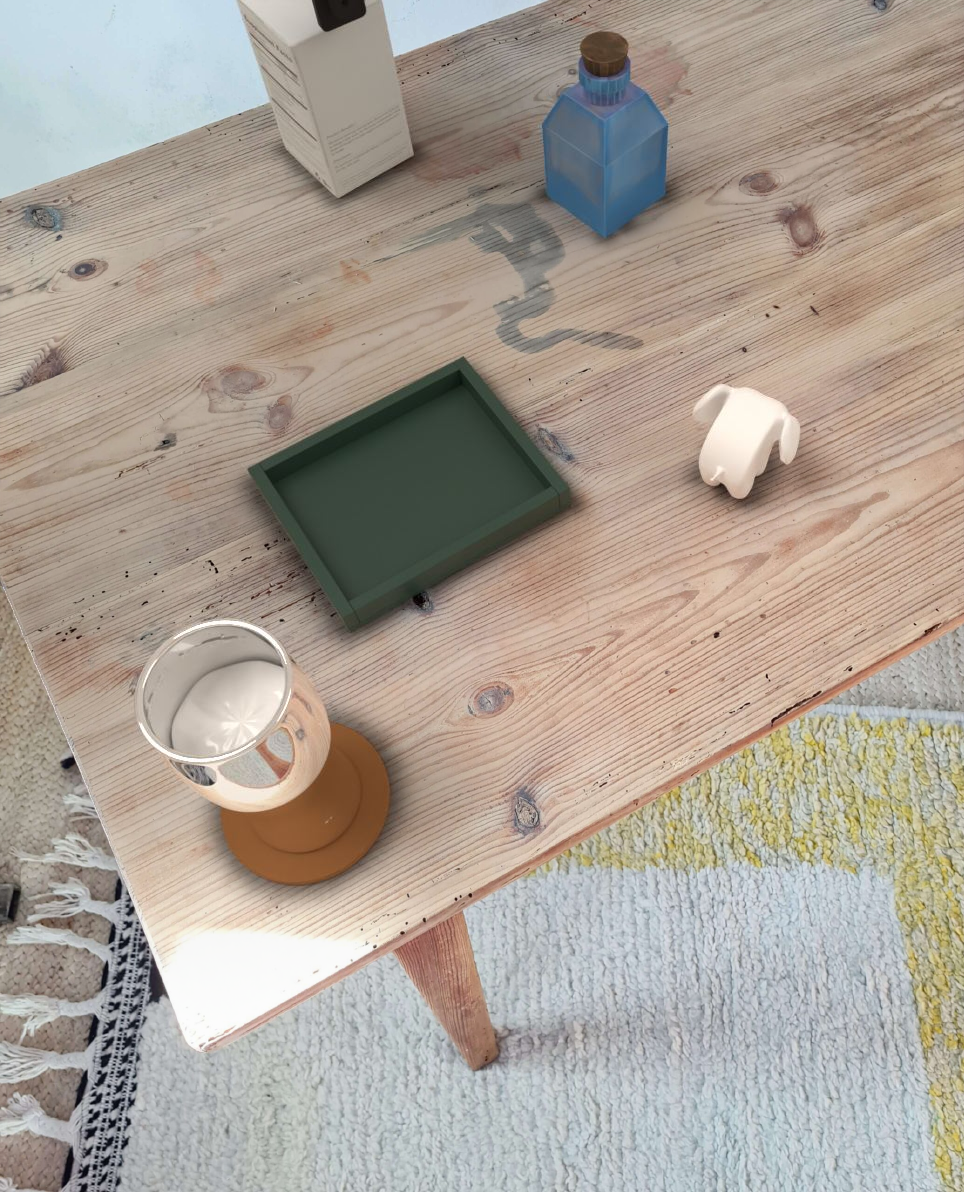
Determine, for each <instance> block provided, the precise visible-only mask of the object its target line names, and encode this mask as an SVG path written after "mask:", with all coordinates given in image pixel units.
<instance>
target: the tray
mask: <svg viewBox="0 0 964 1192" xmlns="http://www.w3.org/2000/svg"><path fill="white" fill-rule="evenodd" d="M246 471H247V472H248V474H249V476H250V478H251V479H252V481H253V484H254V485H255V487H256V489H257V490H258V492H259V494H260V495H261V496H262V499H263V500H264V501H265V503H266V504H267V506H268V507H269V509H270V510H271V512H272V514H273V515H274V517H275V519H276V520H277V522H278V523H279V525H280V526H281V528H282V530H283V532H284V533H285V534H286V536H287V538H288V539H289V541H290V542H291V544H292V545H293V547H294V548H295V550H296V551H297V553H298V555H299V556H300V558H301V560H302V561H303V562H304V564H305V566H306V568H307V569H308V571H309V572H310V573H311V575H312V577H313V578H314V580H315V581H316V583H317V584H318V586H319V588H320V589H321V591H322V593H323V595H324V596H325V597H326V599H327V600H328V602H329V603H330V605H331V607H332V608H333V610H334V612H335V613H336V614H337V616H338V618H339V619H340V621H341V622H342V624H343V625H344V627H345V629H346V630H347V632H348V633H349V634H351V633H353V632H355V631H356V630H359V629H360V628H362V627H363V626H365V625H367V624H368V623H370V622H372V621H374V620H375V619H377V618H379V617H381V616H383V615H385V614H386V613H388V612H389V611H391V610H393V609H395V608H396V607H398V606H400V605H401V604H403V603H405V602H407V601H408V600H410V599H412V598H414V597H415V596H417V595H419V594H421V593H422V592H424V591H426V590H428V589H429V588H431V587H433V586H435V585H436V584H438V583H439V582H442V581H443V580H445V579H446V578H448V577H450V576H452V575H453V574H455V573H457V572H459V571H461V570H462V569H464V568H466V567H467V566H469V565H471V564H473V563H474V562H476V561H478V560H480V559H481V558H483V557H485V556H486V555H488V554H490V553H492V552H494V551H495V550H497V549H499V548H500V547H502V546H503V545H506V544H507V543H509V542H511V541H512V540H514V539H516V538H517V537H519V536H522V535H523V534H525V533H526V532H528V531H530V530H532V529H533V528H535V527H537V526H539V525H540V524H542V523H544V522H545V521H548V520H549V519H551V518H552V517H554V516H556V515H557V514H559V513H561V512H563V511H565V510H566V509H568V508H570V507H571V505H572V504H571V503H572V501H571V488H570V487H569V485H568V484H567V483H566V481H565V480H564V479H563V478H562V476H561V475H560V474H559V473H558V472H557V471H556V469H555V468H554V467H553V465H552V464H551V463H550V461H548V459H547V457H545V455H544V454H543V453H542V452H541V450H539V448H538V447H537V446H536V444H535V443H534V442H533V440H532V439H531V438H530V436H528V434H527V433H526V432H525V430H524V429H523V428H522V427H521V425H520V424H519V423H518V421H516V419H515V418H514V417H513V415H512V414H511V413H510V411H508V409H507V408H506V407H505V406H504V404H503V403H502V401H500V399H499V398H498V397H497V396H496V394H495V393H494V392H493V391H492V389H491V388H490V387H489V385H488V384H487V382H485V381H484V380H483V378H482V377H481V376H480V374H479V373H478V372H477V370H475V368H474V367H473V366H472V365H471V363H470V362H469V361H468V359H467V358H466V357H465V356H464V355H463V356H461V357H459V358H457V359H455V360H454V361H450V363H447V364H445V365H444V366H441V367H440V368H437V369H436V370H434V371H432V372H430V373H428V374H426V375H424V376H423V377H421V378H419V379H417V380H415V381H413V382H411V383H409V384H407V385H405V386H403V387H401V388H399V389H397V390H395V391H394V392H392V393H390V394H387V395H386V396H384V397H382V398H380V399H378V400H376V401H374V402H372V403H370V404H368V405H366V406H365V407H363V408H360V409H359V410H356V411H354V412H353V413H351V414H349V415H347V416H345V417H344V418H341V419H340V420H338V421H336V422H334V423H332V424H329V425H327V426H326V427H324V428H322V429H320V430H318V431H316V432H314V433H313V434H311V435H309V436H306V437H305V438H303V439H301V440H299V441H297V442H295V443H294V444H291V445H289V446H288V447H285V448H284V449H282V450H280V451H278V452H276V453H274V454H272V455H270V456H269V457H266V458H264V459H263V460H261V461H258V462H257V463H255V464H253V465H251V466H249V467H247V468H246Z"/></svg>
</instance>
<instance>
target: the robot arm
mask: <svg viewBox="0 0 964 1192" xmlns="http://www.w3.org/2000/svg"><path fill="white" fill-rule="evenodd" d="M312 3H313V7H314V11H315V14H316V18H317V22H318V25H319V26H320V27H321V29H322V30H323V31H325V32H329V31H331V30H334V29H336V28H338V27H341V26H343V25H345V24H348V23H350V22H352V21H355V20H357V19H359V18H362V17H363V16H364V15H365V14H366V6H365V1H364V0H312Z"/></svg>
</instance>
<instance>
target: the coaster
mask: <svg viewBox="0 0 964 1192" xmlns="http://www.w3.org/2000/svg"><path fill="white" fill-rule="evenodd" d="M329 724H330V730H331V735H332V742H333V746H334V747H336V748H337V749H339V750H340V751H341V752H342V753H344V754H345V755H346V756H347V757H348V758H349V760H350V761H351V762H352V763H353V765H354V767H355V768H356V770H357V773H358V775H359V779H360V784H361V798H360V803H359V807H358V810H357V813H356V815H355V817H354V819H353V821H352V822H351V824H350V825H349V827H348V828H347V829H346V830H345V832H344V833H343V834H342V835H341V836H339V837H338V838H337V839H336V840H334V841H333V842H331V843H330V844H328V845H326V846H324V847H322V848H320V849H317V850H314V851H310V852H304V853H291V852H285V851H281V850H278V849H275V848H273V847H271V846H269V845H268V844H266V843H265V842H264V841H263V840H261V839H260V837H259V836H258V835H257V834H256V832H255V831H254V830H253V828H252V826H251V824H250V822H249V819H248V817H247V816H246V815H243V814H240V813H237V812H234V811H231V810H229V809H226V808H223V807H221V806H220V822H221V824H220V825H221V829H222V833H223V836H224V839H225V842H226V843H227V846H228V847H229V849H230V851H231V852H232V854H233V855H234V857H235V858H236V859H237V860H238V861H239V862H240V863H241V864H242V865H243V866H244V867H246V869H247V870H249V871H250V872H252V873H253V874H255V875H256V876H258V877H259V878H262V879H263V880H266V881H268V882H272V883H276V884H279V885H286V886H306V885H312V884H317V883H321V882H324V881H327V880H329V879H332V878H335V877H336V876H338V875H340V874H343V873H344V872H346V871H347V870H349V869H350V868H351V867H352V866H354V865H355V864H357V863H358V862H359V861H360V860H361V859H362V858H363V857H364V856H365V855H366V853H368V852H369V851H370V849H371V848H372V847H373V845H374V844H375V842H376V841H377V840H378V838H379V837H380V834H381V832H382V831H383V828H384V826H385V823H386V820H387V818H388V813H389V808H390V803H391V802H390V801H391V784H390V779H389V776H388V771H387V768H386V766H385V763H384V761H383V760H382V758H381V756H380V755H379V753H378V751H377V750H376V749H375V747H374V746H373V745H372V744H371V743H370V742H369V740H367V738H365V737H364V736H363V735H362V734H360V733H359V732H357V731H356V730H353V728H350V727H348V726H345V725H343V724H341V723H335V722H333V721H329Z"/></svg>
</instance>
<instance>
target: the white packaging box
mask: <svg viewBox="0 0 964 1192" xmlns="http://www.w3.org/2000/svg"><path fill="white" fill-rule="evenodd" d="M364 1H365V6H366V14H365V15H364V16H363V17H362V18H359V19H357V20H355V21H352V22H350V23H348V24H345V25H343V26H341V27H338V28H336V29H334V30H331V31H329V32H325V31H323V30H322V29H321V27H320V26H319V25H318V22H317V18H316V14H315V11H314V7H313V3H312V0H236V3H237V6H238V7H237V8H238V9H239V12H240V15H241V18H242V21H243V24H244V27H245V30H246V33H247V36H248V39H249V42H250V46H251V48H252V51H253V54H254V57H255V60H256V63H257V66H258V69H259V73H260V75H261V78H262V81H263V85H264V87H265V91H266V94H267V98H268V100H269V103H270V106H271V108H272V111H273V115H274V118H275V121H276V124H277V127H278V131H279V134H280V137H281V139H282V142H283V145H284V148H285V150H286V151H287V152H288V153H289V154H290V155H292V157H293V158H294V159H295V160H296V161H297V162H298V163H299V164H301V166H303V167H304V168H305V169H306V170H307V171H308V173H310V174H311V175H312V176H313V177H314V178H315V179H316V180H317V181H318V182H319V183H320V184H321V185H322V186H324V187H325V188H326V189H327V190H328V191H329V192H330V193H331V194H332V195H333V196H334V197H335V198H337V199H340V198H341V197H343V196H345V195H346V194H349V193H351V192H352V191H353V190H355V189H357V188H359V187H361V186H362V185H364V184H366V183H368V182H369V181H371V180H373V179H374V178H376V177H379V176H380V175H382V174H383V173H386V172H387V171H389V170H390V169H392V168H394V167H395V166H398V165H399V164H401V163H403V162H405V161H406V160H408V159H410V158H412V157H413V156H414V155H415V154H414V149H413V144H412V138H411V134H410V129H409V124H408V120H407V115H406V114H407V113H406V110H405V104H404V101H403V99H404V98H403V95H402V91H401V86H400V85H401V84H400V80H399V76H398V70H397V67H396V61H395V56H394V52H393V47H392V42H391V37H390V31H389V27H388V23H387V22H388V21H387V18H386V17H387V16H386V13H385V7H384V3H383V0H364Z"/></svg>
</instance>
